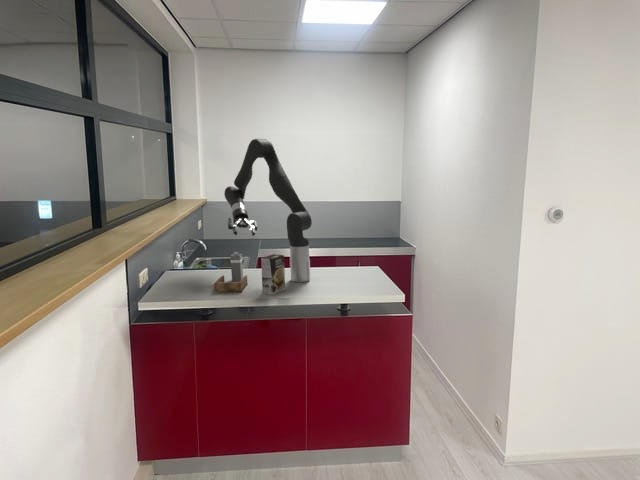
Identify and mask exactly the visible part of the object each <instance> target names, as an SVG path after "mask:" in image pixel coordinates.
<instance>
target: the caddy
mask: <svg viewBox="0 0 640 480" xmlns="http://www.w3.org/2000/svg"><path fill="white" fill-rule="evenodd" d="M213 285H214V293H215V294H221V293H222V294H225V293H226V294H227V293H228V294H232V293H233V294H234V293H235V294H238V293H242V292H244V290H245V289H246V288H247V286H248V275H243V278H242V280H241V281H240V282H232V281H231V282H230V281H229V282H226V281H225V275H221V276H220V277H219V278H218V279H217V280H216V281H215V282H214V283H213Z"/></svg>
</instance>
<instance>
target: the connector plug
mask: <svg viewBox="0 0 640 480" xmlns="http://www.w3.org/2000/svg"><path fill="white" fill-rule="evenodd" d="M243 265H244V264H243V253H239V252H238V251H234V253H231V255H230V269H231V272H230V273H231V282H240V281H241V280H242V278H243V277H244V271H243V270H244V267H243Z"/></svg>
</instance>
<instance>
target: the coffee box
mask: <svg viewBox="0 0 640 480" xmlns="http://www.w3.org/2000/svg"><path fill="white" fill-rule="evenodd" d="M260 260H261V261H260V263H261V266H260V267H261V286H262V287H261V288H262V289H261V290H262V292H261V293H263V294H267V295H271V296H273V295H277V294H279V293H281V292H283V291H286V276H285V255H284V254H275V253H274V254H270V255H266V256H263V257H260Z"/></svg>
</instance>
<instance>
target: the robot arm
mask: <svg viewBox="0 0 640 480" xmlns="http://www.w3.org/2000/svg"><path fill="white" fill-rule="evenodd" d="M257 159H264V161H265V162H266V164H267V167H268V182H269V185H270V187H271V188H272V189H271V190H272V191H273V193H274V194H275V195H276V197H277V198H279V199H280V200H281V201H282V202H283V203H284V204H286V205H287V207H289V209H290V211H291V213H290V214H288V216H287V219H286V231H287V239H288V242H289V256H290V257H289V260H290V261H289V262H290V281H291V282H295V283H305V282H310V280H311V259H310V240H309V239H308V238H307V237H305V236H304V233H303V231H306V230H307V231H308V230H310V228H311V227H312V220H313V219H312V218H311V217H312V216H311V215H310V213H309V211H308V210H307V209H306V207H305V205H304V204H303V202H302V201H301V199H300V198H299V196H298V194H297V192H296V190H295V189H294V186H293V185H292V183H291V181H290V179H289V177H288V175H287V174H286V172H285V170H284V167H283V166H282V163H281V162H280V159H279V157H278V154H277V152H276V150H275V148H274V145H273V143H272V142H271V141H270V140H269V139H267V138H253V139H252V140H251V141H250V142H249V144H248V146H247V149H246V152H245V155H244V158H243V162H242V165H241V167H240V170H239V171H238V174H237V175H236V177H235V179H234V181H233V185H234V186H235V187H234V186H230V185H229V186H227V187H226V188H225V189H224V198H225V200H226V202H228V204H229V206H230V208H231V215H232V218H231V217H228V219H227V227H228V230H232V232H233V235H234V236H237V235H238V228H244V229H245V228H246V229H247V230H249V231H250V232H251V236H253V237H254V236H255V235H256V231H258V227H259V225H258V223H257V221H256V219H254V218H253V220H250V218H249V214H248V211H247V208H246V206H245V201H244V199H245V195H246V190H247V187H248V186H249V183H250V182H251V180H252V179H253V167H254V166H253V165H254V163H255V162H256V160H257Z"/></svg>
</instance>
